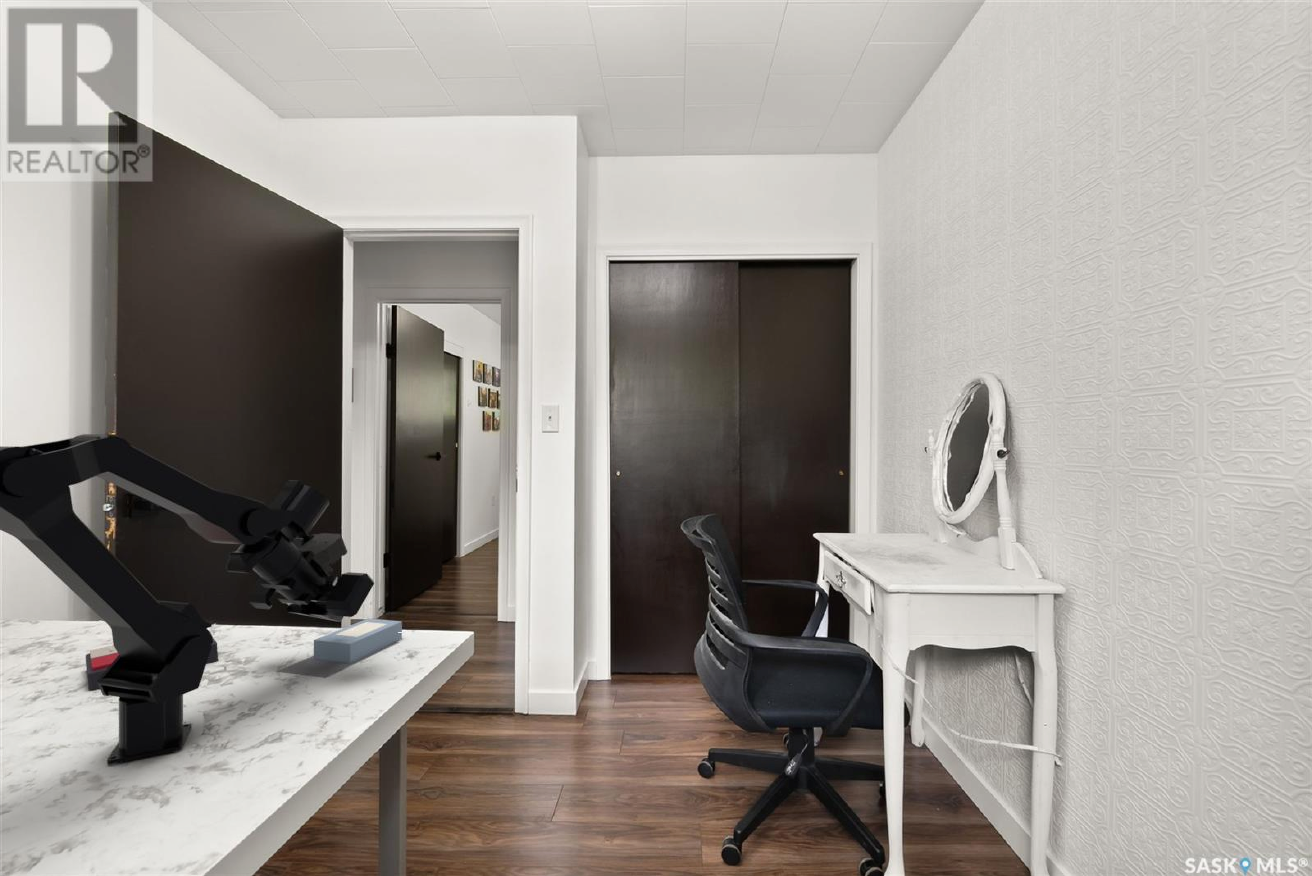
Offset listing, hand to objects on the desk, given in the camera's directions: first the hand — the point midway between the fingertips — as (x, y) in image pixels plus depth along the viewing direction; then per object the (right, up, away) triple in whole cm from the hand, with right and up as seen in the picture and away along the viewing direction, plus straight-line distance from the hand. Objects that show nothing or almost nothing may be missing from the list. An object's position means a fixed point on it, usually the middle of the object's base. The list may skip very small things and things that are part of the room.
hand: (340, 618), depth 98 cm
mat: (0, -7, +1) cm, 7 cm away
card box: (0, -5, -2) cm, 5 cm away
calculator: (-28, -7, -3) cm, 29 cm away
